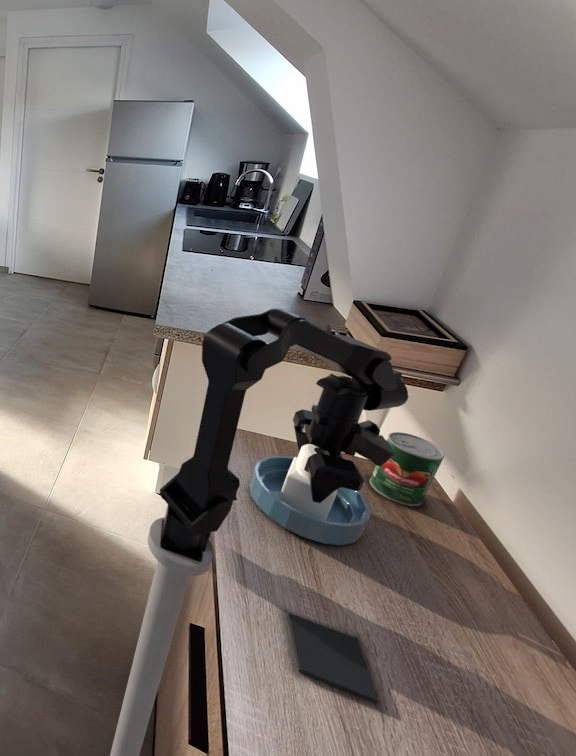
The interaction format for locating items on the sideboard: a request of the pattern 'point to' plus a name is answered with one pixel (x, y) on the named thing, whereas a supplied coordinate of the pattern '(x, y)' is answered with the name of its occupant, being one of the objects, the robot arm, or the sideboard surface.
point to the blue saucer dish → (337, 529)
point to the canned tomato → (407, 469)
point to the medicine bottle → (304, 486)
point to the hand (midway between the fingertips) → (310, 484)
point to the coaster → (330, 657)
